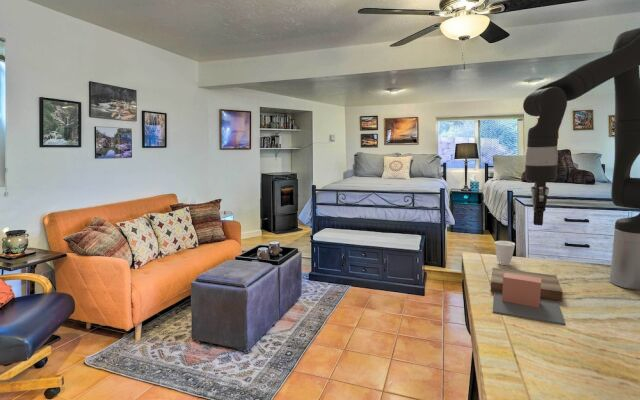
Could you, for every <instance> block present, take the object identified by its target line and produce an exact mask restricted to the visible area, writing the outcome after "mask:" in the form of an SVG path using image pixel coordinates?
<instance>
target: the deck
mask: <svg viewBox="0 0 640 400" xmlns="http://www.w3.org/2000/svg"><path fill="white" fill-rule="evenodd" d="M504 273H510V274H517V275H523V276H530V277H537V278H541V292H540V299H546V300H553V301H558V303H559V302H563V289H562V286H561V284H560V282H559V278H558V277H557V275H556V274H547V273H539V272H530V271H523V270H517V269H515V270H514V269H508V268H507V269H506V268H499V267H498V268H497V267H492V268H491V281H490V292H492V293H494V292H499V293H502V291H503V276H504Z"/></svg>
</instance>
